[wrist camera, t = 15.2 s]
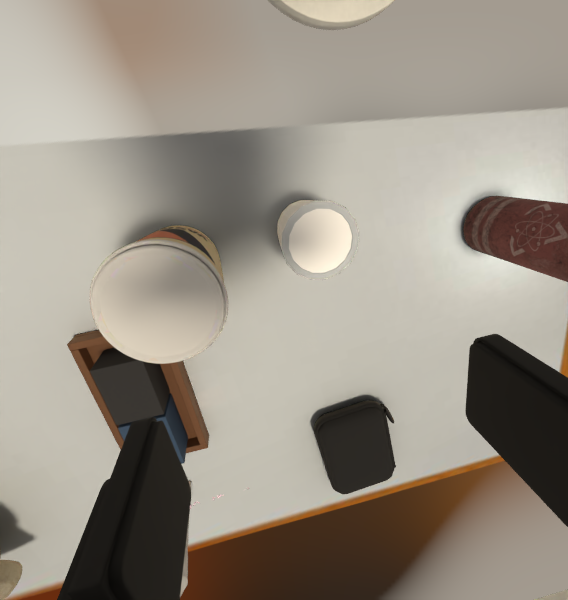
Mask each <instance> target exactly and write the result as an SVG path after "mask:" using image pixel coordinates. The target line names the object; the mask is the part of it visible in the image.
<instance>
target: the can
mask: <svg viewBox="0 0 568 600" xmlns="http://www.w3.org/2000/svg"><path fill="white" fill-rule="evenodd" d="M463 232H464V238H465V240H466V242H467V244H468V245H469V246H470V247H471V248H472V249H474V250H477V251H479V252H482V253H485V254H488V255H491V256H494V257H497V258H500V259H503V260H506V261H508V262H511V263H514V264H517V265H520V266H523V267H526V268H529V269H532V270H535V271H537V272H540V273H543V274H546V275H549V276H552V277H555V278H558V279H561V280H564V281H566V282H568V204H565V203H556V202H547V201H539V200H530V199H521V198H513V197H504V196H491V197H488V198H486V199H483V200H482V201H480V202H479V203H478V204H476V205H475V206H474V207H473V208H472V209H471V210H470V212H469V213H468V214H467V217H466V219H465V221H464V227H463Z"/></svg>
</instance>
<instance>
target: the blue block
mask: <svg viewBox="0 0 568 600" xmlns="http://www.w3.org/2000/svg"><path fill="white" fill-rule="evenodd" d="M150 418H151V417H150ZM154 418H155V419H156V420H157V421H163V422H164V424H165V427H166V429H167V431H168V434H169V436H170V439H171V441H172V443H173V446H174V448H175V451H176V453H177V455H178V458H179V460H180V463H181V464H182V463H184V462H185V455H186V448H187V441H188V435H187V433H186V430H185V428H184V425H183V422H182V420H181V417H180V415H179V412H178V409H177V407H176V404H175V402H174V399H173V397H172V394H171V393H170V394H169V397H168V401H167V404H166V408H165V412H164V414H162V415H158V416H154ZM146 419H147V418H146ZM141 420H143V419H141ZM137 421H139V420H137ZM133 422H134V421H133ZM131 423H132V422H129V423H125V424H121V425H119V427H118V429H119V431H120V434H121V436H122V438H123V440H124V441H125V438H126V435H127V433H128V430H129V427H130V425H131Z"/></svg>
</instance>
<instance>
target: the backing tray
mask: <svg viewBox="0 0 568 600" xmlns="http://www.w3.org/2000/svg"><path fill="white" fill-rule="evenodd" d="M67 345H68V347H69V349H70V351H71V353H72V355H73V357H74V359H75V361H76V363H77V365H78V367H79V369H80V371H81V373H82V375H83V377H84V379H85V381H86V383H87V385H88V387H89V388H90V390H91V392H92V394H93V396H94V398H95V400H96V402H97V404H98V406H99V408H100V410H101V412H102V414H103V416H104V418H105V420H106V422H107V424H108V426H109V428H110V430H111V432H112V434H113V436H114V438H115V440H116V441H117V443H118V445H119V447H120V449H122V446H123V443H124V440H123V438H122V436H121V434H120V431H119V429H118V427H119V425H116V424H115V422H114V420H113V417H112V415H111V413H110V411H109V409H108V407H107V405H106V403H105V401H104V399H103V397H102V395H101V393H100V391H99V389H98V387H97V385H96V383H95V381H94V379H93V377H92V375H91V373H90V370H91V368H92V367H93V365H94V364H95V362H96V361H97V359H98V358H99V357H100V355H101V354H102V352H103V351H104V350H106V349H111V348H115V347H113V346H112V345H111V344H110V343H109V342H108V341H107V340H106V339H105V338H104V337H103V335H102V334H101V332H100V331H99V330H96V331H91V332H87V333H82V334H78V335H75V336H74V338H73V339H72V340H71V341H70V342H69V343H68V344H67ZM160 366H161V368H162V371H163V373H164V376H165V379H166V381H167V384H168V386H169V389H170V393H171V394H172V397H173V399H174V402H175V404H176V407H177V409H178V412H179V415H180V417H181V420H182V422H183V425H184V428H185V430H186V433H187V435H188V441H187V448H186V453H189V452H193V451H197V450H201V449H205V448H208V440H209V434H208V431H207V428H206V426H205V423H204V420H203V417H202V414H201V411H200V409H199V406H198V403H197V400H196V397H195V394H194V392H193V389H192V386H191V383H190V380H189V377H188V375H187V372H186V369H185V366H184V363H183V361H180V362H175V363H166V364H160ZM170 393H169V394H170Z"/></svg>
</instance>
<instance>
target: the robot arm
mask: <svg viewBox="0 0 568 600" xmlns="http://www.w3.org/2000/svg"><path fill="white" fill-rule="evenodd" d="M466 416H467V419H468V421H469V422H470V424H471V425H472V426H473V427H474V428H475V429H476V430H477V431H478V432H479V433H480V434H481V435H482V436H483V438H484V439H485V440H486V441H487V442H488V443H489V444H490V445H491V446H492V447H493V448H494V449H495V450H496V451H497V452H498V454H499V455H500V456H501V457H502V458H503V459H504V460H505V461H506V462H507V463H508V464H509V465H510V466H511V467H512V468H513V470H514V471H515V472H516V473H517V474H518V475H519V476H520V477H521V478H522V479H523V480H524V481H525V482H526V483H527V484H528V485H529V486H530V487H531V489H532V490H533V491H534V492H535V493H536V494H537V495H538V496H539V497H540V498H541V499H542V500H543V501H544V503H546V505H547V506H548V507H549V508H550V509H551V510H552V511H553V512H554V513H555V514H556V515H557V516H558V517H559V518H560V519H561V521H562V522H563V523H564V524H565V525H566V526H567V527H568V378H567V377H566V376H564V375H563V374H561V373H559V372H558V371H556V370H555V369H553V368H551V367H550V366H548V365H547V364H545V363H543V362H542V361H540V360H539V359H537V358H535V357H534V356H532V355H531V354H529V353H527V352H526V351H524V350H523V349H521V348H519V347H518V346H516V345H515V344H513V343H511V342H510V341H508V340H507V339H505V338H503V337H502V336H500V335H498V334H492V335H488V336H484V337H480V338H477V339H475V341H474V343H473V344H472V345H471V346H470V352H469V368H468V383H467V398H466ZM190 502H191V489H190V484H189V482H188V479H187V477H186V475H185V472H184V470H183V467H182V465H181V463H180V460H179V458H178V455H177V453H176V451H175V448H174V446H173V443H172V441H171V439H170V436H169V434H168V431H167V429H166V427H165V424H164V422H163V421H157V420H156V419H155V418H154V417H151V418H147V419H143V420H139V421H134V422H132V423H131V425H130V427H129V430H128V433H127V435H126V438H125V441H124V443H123V446H122V449H121V451H120V454H119V457H118V459H117V462H116V465H115V467H114V470H113V473H112V475H111V478H110V479H108V480H107V481H106V482H105V483H104V484H103V486H102V488H101V490H100V492H99V495H98V497H97V500H96V502H95V505H94V507H93V510H92V513H91V515H90V518H89V520H88V523H87V525H86V528H85V530H84V533H83V535H82V538H81V540H80V543H79V546H78V548H77V551H76V553H75V556H74V558H73V561H72V563H71V566H70V568H69V571H68V574H67V576H66V579H65V581H64V584H63V586H62V589H61V591H60V594H59V596H58V599H57V600H180V592H181V583H182V574H183V565H184V556H185V547H186V538H187V529H188V520H189V511H190ZM535 600H568V589H567V590H565V591H561V592H558V593H555V594H551V595H548V596H545V597H541V598H538V599H535Z"/></svg>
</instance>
